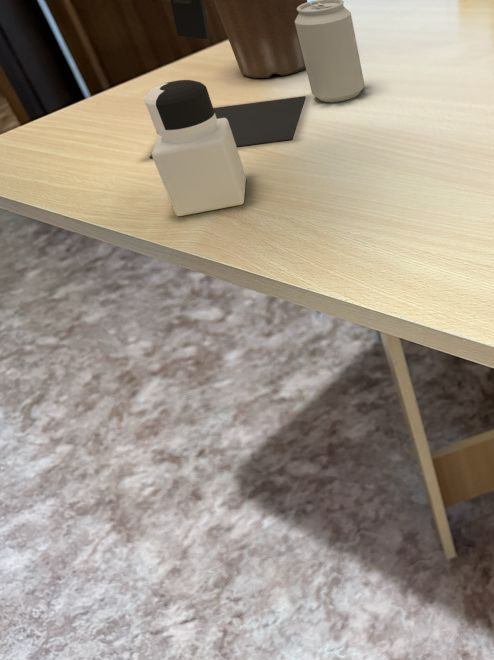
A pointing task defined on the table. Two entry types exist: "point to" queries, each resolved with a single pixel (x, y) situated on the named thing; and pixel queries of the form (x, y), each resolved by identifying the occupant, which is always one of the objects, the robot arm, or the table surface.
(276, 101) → the mat
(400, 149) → the table surface
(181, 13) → the robot arm
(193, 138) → the medicine bottle
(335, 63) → the can
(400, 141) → the table surface
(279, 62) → the plant pot
